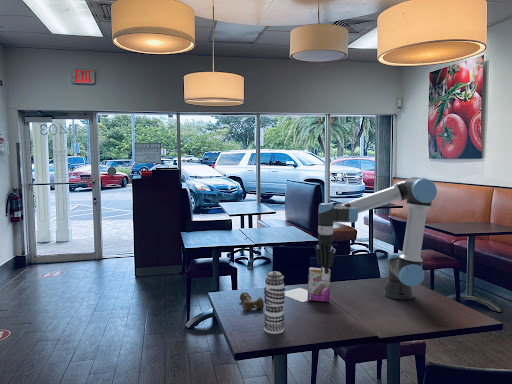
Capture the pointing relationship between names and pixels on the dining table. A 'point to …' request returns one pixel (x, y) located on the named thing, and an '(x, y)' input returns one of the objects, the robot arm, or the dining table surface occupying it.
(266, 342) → the dining table surface
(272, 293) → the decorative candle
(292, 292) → the mat
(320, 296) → the candy bar box
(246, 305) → the kendama
